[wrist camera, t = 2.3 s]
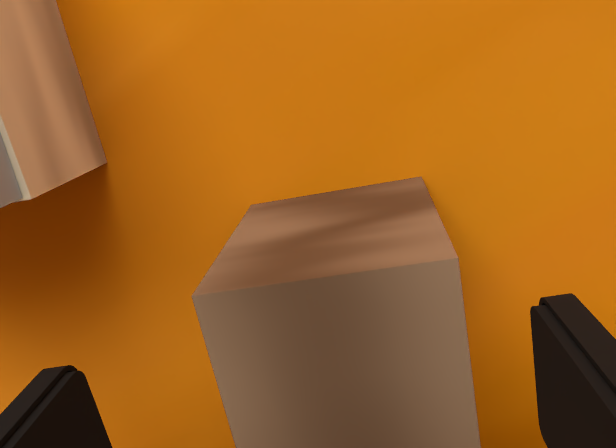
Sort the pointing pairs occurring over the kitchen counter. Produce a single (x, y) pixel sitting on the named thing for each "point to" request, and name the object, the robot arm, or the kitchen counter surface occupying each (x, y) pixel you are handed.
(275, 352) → the walnut block
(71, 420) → the robot arm
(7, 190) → the tower top
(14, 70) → the tower base
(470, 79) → the kitchen counter surface
